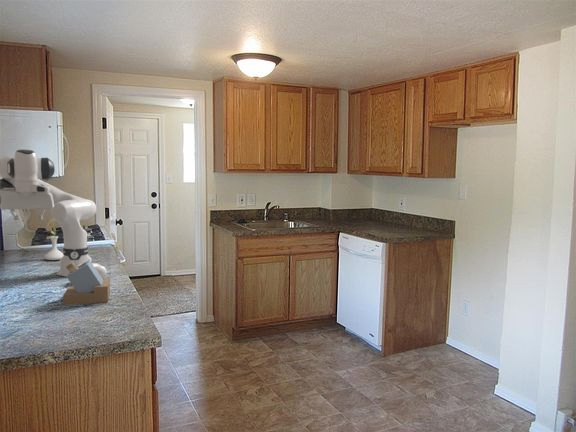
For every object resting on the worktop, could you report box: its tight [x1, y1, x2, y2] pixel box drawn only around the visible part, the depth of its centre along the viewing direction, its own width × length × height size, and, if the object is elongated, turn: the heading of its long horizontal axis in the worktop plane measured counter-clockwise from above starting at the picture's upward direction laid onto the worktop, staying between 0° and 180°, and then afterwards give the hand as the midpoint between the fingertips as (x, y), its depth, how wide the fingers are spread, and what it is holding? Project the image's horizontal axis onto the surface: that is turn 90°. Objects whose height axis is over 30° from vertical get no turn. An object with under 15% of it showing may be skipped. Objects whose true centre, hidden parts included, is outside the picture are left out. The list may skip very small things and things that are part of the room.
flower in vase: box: [43, 218, 64, 261], centre depth 278 cm, size 13×11×25 cm
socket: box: [62, 260, 111, 306], centre depth 201 cm, size 14×17×16 cm
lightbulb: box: [95, 264, 108, 279], centre depth 218 cm, size 6×6×11 cm
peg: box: [66, 262, 79, 273], centre depth 200 cm, size 3×3×12 cm
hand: (28, 219), depth 204 cm, fingers open, 8 cm apart
